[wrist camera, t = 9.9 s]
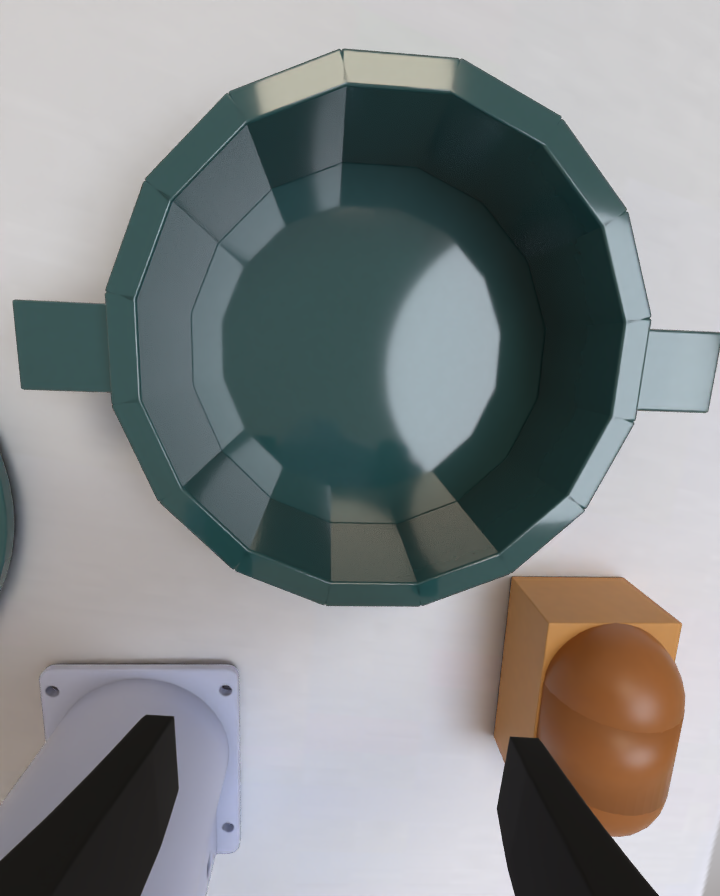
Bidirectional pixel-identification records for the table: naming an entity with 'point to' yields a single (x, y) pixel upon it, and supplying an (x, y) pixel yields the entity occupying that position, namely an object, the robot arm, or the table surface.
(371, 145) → the pot
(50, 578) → the table surface
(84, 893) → the robot arm
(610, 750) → the bread
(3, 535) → the lid
